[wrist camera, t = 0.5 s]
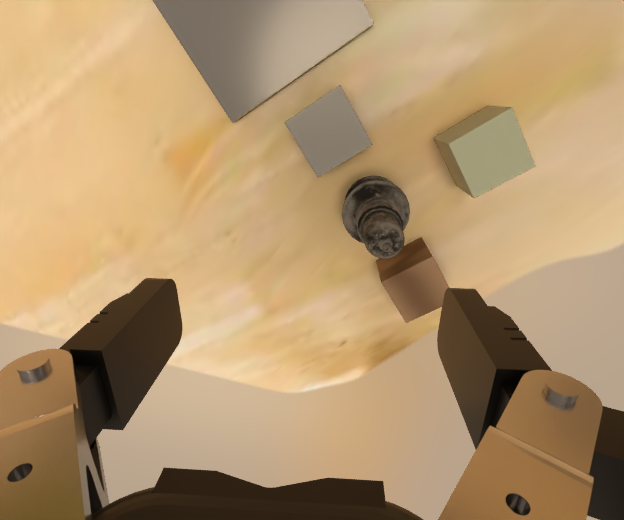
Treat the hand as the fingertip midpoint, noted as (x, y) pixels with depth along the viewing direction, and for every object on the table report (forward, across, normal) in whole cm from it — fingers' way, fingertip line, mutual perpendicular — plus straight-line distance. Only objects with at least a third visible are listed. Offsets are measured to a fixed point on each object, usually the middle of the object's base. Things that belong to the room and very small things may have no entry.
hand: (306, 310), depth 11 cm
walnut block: (+26, -8, +10) cm, 29 cm away
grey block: (+26, 0, -3) cm, 26 cm away
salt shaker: (+26, -4, +4) cm, 27 cm away
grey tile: (+26, +6, -14) cm, 30 cm away
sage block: (+26, -13, -2) cm, 29 cm away
